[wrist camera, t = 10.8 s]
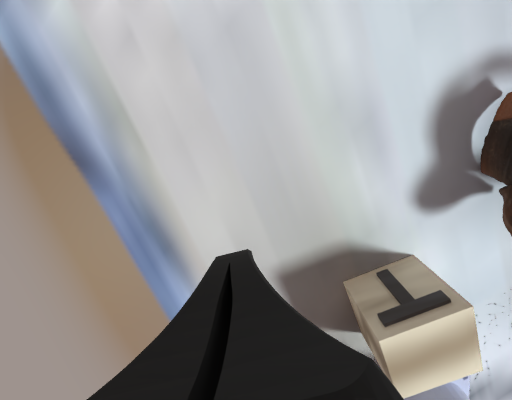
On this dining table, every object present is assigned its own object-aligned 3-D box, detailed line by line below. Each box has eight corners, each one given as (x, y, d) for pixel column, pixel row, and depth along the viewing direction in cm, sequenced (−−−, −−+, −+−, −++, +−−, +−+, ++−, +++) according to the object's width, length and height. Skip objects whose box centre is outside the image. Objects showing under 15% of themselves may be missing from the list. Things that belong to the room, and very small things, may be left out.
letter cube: (425, 308, 24) (483, 370, 19) (361, 332, 25) (398, 400, 19) (411, 251, 22) (472, 302, 17) (341, 278, 23) (377, 337, 17)
